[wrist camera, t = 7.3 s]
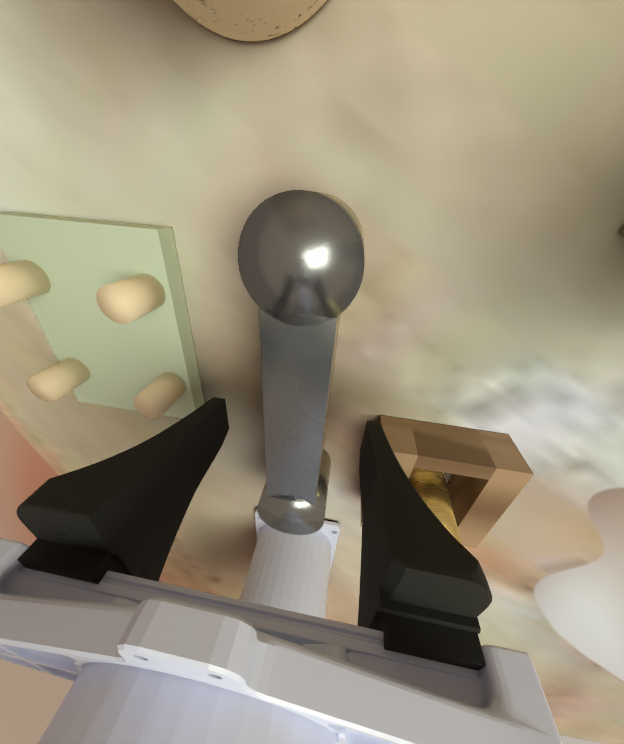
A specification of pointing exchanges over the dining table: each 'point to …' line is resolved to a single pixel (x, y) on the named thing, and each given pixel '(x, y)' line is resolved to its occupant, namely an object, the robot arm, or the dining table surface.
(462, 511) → the slot block
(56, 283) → the rack
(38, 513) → the robot arm
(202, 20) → the teacup with lid
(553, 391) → the dining table surface
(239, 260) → the ball-knob grey rod
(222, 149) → the dining table surface
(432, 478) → the pin
